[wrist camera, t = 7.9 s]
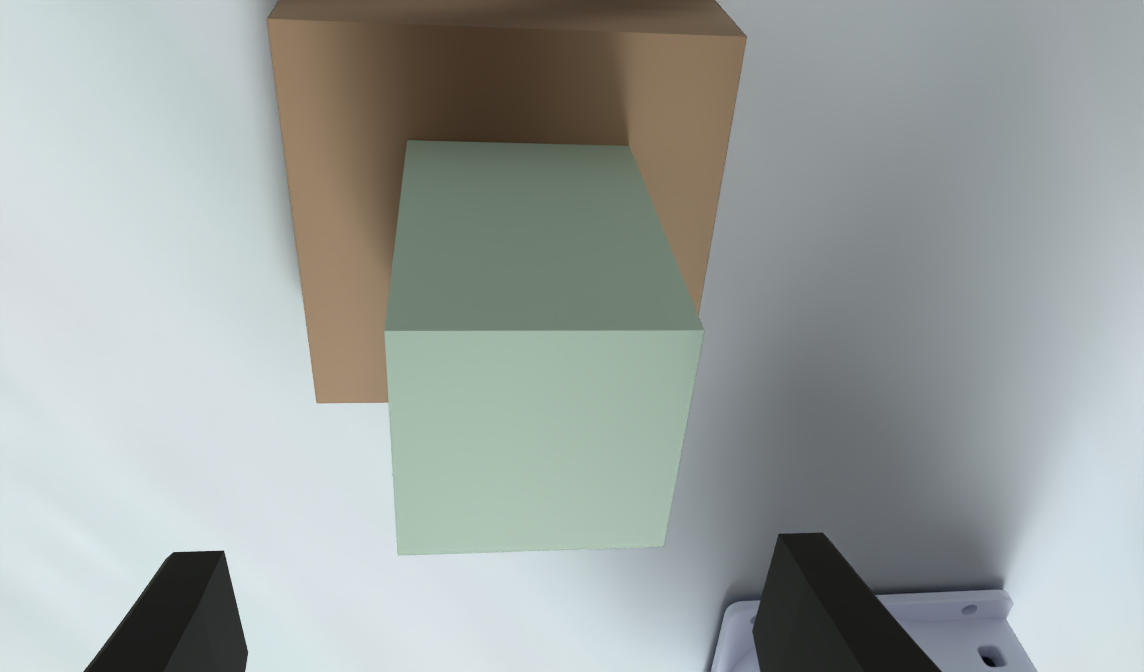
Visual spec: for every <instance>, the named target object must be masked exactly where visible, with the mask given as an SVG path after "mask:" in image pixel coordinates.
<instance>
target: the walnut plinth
mask: <svg viewBox="0 0 1144 672" xmlns="http://www.w3.org/2000/svg"><path fill="white" fill-rule="evenodd" d="M267 25H268V32H269V40H270V48H271V55H272V63H273V71H274V79H275V86H276V94H277V102H278V110H279V117H280V125H281V133H282V140H283V148H284V156H285V164H286V171H287V179H288V187H289V194H290V202H291V210H292V218H293V225H294V233H295V241H296V249H297V256H298V264H299V272H300V279H301V287H302V295H303V303H304V310H305V318H306V326H307V334H308V341H309V349H310V357H311V364H312V372H313V380H314V388H315V395H316V403H384V402H389V400H388V383H387V366H386V349H385V332H384V330H385V322H386V313H387V305H388V297H389V288H390V280H391V271H392V263H393V255H394V246H395V238H396V229H397V221H398V213H399V204H400V196H401V187H402V179H403V171H404V162H405V154H406V145H407V140H420V141H458V142H497V143H535V144H574V145H612V146H629V147H630V149H631V151H632V154H633V156H634V159H635V161H636V164H637V166H638V169H639V171H640V174H641V176H642V179H643V181H644V183H645V186H646V188H647V191H648V193H649V196H650V198H651V201H652V203H653V206H654V208H655V211H656V213H657V215H658V218H659V220H660V223H661V225H662V228H663V230H664V233H665V235H666V238H667V240H668V243H669V245H670V247H671V250H672V252H673V255H674V257H675V260H676V262H677V265H678V267H679V270H680V272H681V275H682V277H683V279H684V282H685V284H686V287H687V289H688V292H689V294H690V297H691V299H692V302H693V304H694V307H695V309H696V311H697V314H699V309H700V303H701V297H702V291H703V286H704V280H705V274H706V268H707V263H708V257H709V251H710V246H711V240H712V234H713V228H714V223H715V217H716V211H717V205H718V200H719V194H720V188H721V182H722V177H723V171H724V165H725V159H726V154H727V148H728V142H729V136H730V131H731V125H732V119H733V113H734V108H735V102H736V96H737V90H738V85H739V79H740V73H741V67H742V62H743V56H744V50H745V45H746V39H747V36H746V35H745V34H744V33H743V32H742V31H741V29H740V28H739V27H738V26H737V25H736V24H735V23H734V21H733V20H732V19H731V18H730V17H729V16H728V15H727V13H726V12H725V11H724V10H723V9H722V8H721V7H720V5H719V4H718V3H717V2H716V1H715V0H279V1H278V3H277V4H276V6H275V7H274V9H273V10H272V12H271V13H270V15H269V16H268V18H267Z"/></svg>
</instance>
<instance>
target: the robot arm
mask: <svg viewBox="0 0 1144 672" xmlns="http://www.w3.org/2000/svg"><path fill="white" fill-rule="evenodd" d="M1012 606H1013V601H1012V599H1011V598H1010V596H1009V595H1008V593H1007V592H1006V591H1004V590H975V591H953V592H931V593H909V594H887V595H875V594H874V593H873V592H872V591H871V590H870V588H869V587H868V586H867V585H866V584H865V582H864V581H863V580H862V579H861V578H860V576H859V575H858V574H857V573H856V572H855V570H854V569H853V568H852V567H851V565H850V564H849V563H848V562H847V561H846V559H845V558H844V557H843V556H842V555H841V553H840V552H839V551H838V550H837V549H836V547H835V546H834V545H833V544H832V543H831V541H830V540H829V539H828V538H827V537H826V536H825V535H824V534H823V533H794V534H779V535H778V539H777V542H776V546H775V550H774V553H773V557H772V560H771V564H770V568H769V571H768V575H767V579H766V582H765V586H764V589H763V593H762V597H761V600H754V601H740V602H736V603H733V604H731V605H730V606H729V607H728V608H727V609H726V611H725V614H724V618H723V622H722V626H721V631H720V635H719V639H718V643H717V648H716V652H715V656H714V660H713V665H712V669H711V672H1037V670H1036V668H1035V667H1034V665H1033V663H1032V662H1031V660H1030V658H1029V657H1028V655H1027V653H1026V652H1025V650H1024V648H1023V647H1022V645H1021V643H1020V642H1019V640H1018V638H1017V637H1016V635H1015V633H1014V632H1013V630H1012V628H1011V626H1010V625H1009V623H1008V621H1007V620H1006V618H1007V616H1008V614H1009V612H1010V610H1011V608H1012ZM247 656H248V650H247V646H246V642H245V638H244V633H243V629H242V625H241V621H240V616H239V612H238V608H237V604H236V599H235V595H234V591H233V587H232V582H231V578H230V574H229V570H228V566H227V561H226V557H225V553H224V551H198V552H173V553H172V554H171V555H170V556H169V557H167V558H166V559H165V561H164V562H163V564H162V565H161V567H160V568H159V569H158V571H157V572H156V574H155V575H154V577H153V578H152V580H151V581H150V582H149V584H148V585H147V587H146V588H145V589H144V591H143V592H142V594H141V595H140V597H139V598H138V599H137V601H136V602H135V604H134V605H133V606H132V608H131V609H130V611H129V612H128V613H127V615H126V616H125V617H124V619H123V620H122V622H121V623H120V624H119V626H118V627H117V628H116V630H115V631H114V632H113V634H112V635H111V636H110V638H109V639H108V640H107V642H106V643H105V644H104V646H103V647H102V648H101V650H100V651H99V652H98V654H97V655H96V656H95V658H94V659H93V660H92V661H91V663H90V664H89V665H88V667H87V668H86V669H85V670H84V672H245V669H246V662H247Z"/></svg>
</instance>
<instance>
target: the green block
mask: <svg viewBox="0 0 1144 672" xmlns="http://www.w3.org/2000/svg"><path fill="white" fill-rule="evenodd" d="M384 332H385V349H386V366H387V383H388V400H389V417H390V434H391V451H392V468H393V485H394V502H395V519H396V536H397V553H398V555H429V554H459V553H489V552H519V551H549V550H579V549H609V548H639V547H664V542H665V537H666V531H667V526H668V521H669V515H670V510H671V505H672V499H673V494H674V489H675V483H676V478H677V473H678V467H679V462H680V457H681V452H682V446H683V441H684V436H685V430H686V425H687V420H688V414H689V409H690V404H691V398H692V393H693V388H694V382H695V377H696V372H697V366H698V361H699V356H700V350H701V345H702V340H703V334H704V329H703V326H702V324H701V321H700V319H699V316H698V314H697V311H696V309H695V307H694V304H693V302H692V299H691V297H690V294H689V292H688V289H687V287H686V284H685V282H684V279H683V277H682V275H681V272H680V270H679V267H678V265H677V262H676V260H675V257H674V255H673V252H672V250H671V247H670V245H669V243H668V240H667V238H666V235H665V233H664V230H663V228H662V225H661V223H660V220H659V218H658V215H657V213H656V211H655V208H654V206H653V203H652V201H651V198H650V196H649V193H648V191H647V188H646V186H645V183H644V181H643V179H642V176H641V174H640V171H639V169H638V166H637V164H636V161H635V159H634V156H633V154H632V151H631V149H630V147H629V146H612V145H574V144H535V143H497V142H458V141H420V140H407V145H406V154H405V162H404V171H403V179H402V187H401V196H400V204H399V213H398V221H397V229H396V238H395V246H394V255H393V263H392V271H391V280H390V288H389V297H388V305H387V313H386V322H385V330H384Z"/></svg>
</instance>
